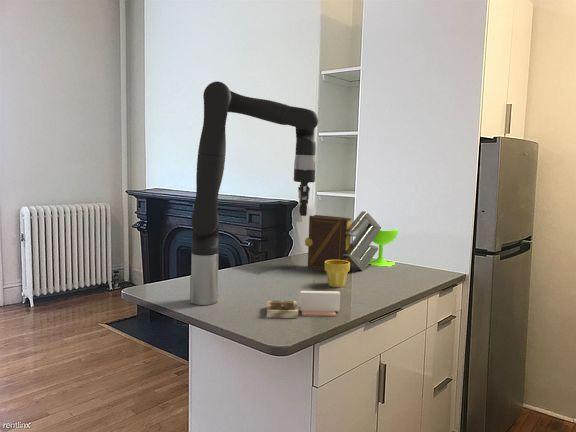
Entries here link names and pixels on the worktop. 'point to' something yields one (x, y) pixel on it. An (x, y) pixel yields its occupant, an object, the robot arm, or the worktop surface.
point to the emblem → (362, 241)
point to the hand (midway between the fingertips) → (302, 214)
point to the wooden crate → (326, 240)
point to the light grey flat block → (320, 301)
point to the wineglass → (382, 239)
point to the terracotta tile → (318, 313)
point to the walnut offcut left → (276, 305)
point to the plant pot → (337, 272)
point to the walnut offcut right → (288, 305)
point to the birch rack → (282, 311)
